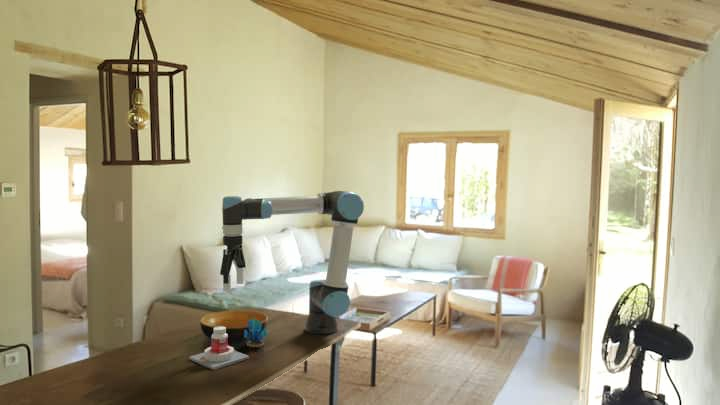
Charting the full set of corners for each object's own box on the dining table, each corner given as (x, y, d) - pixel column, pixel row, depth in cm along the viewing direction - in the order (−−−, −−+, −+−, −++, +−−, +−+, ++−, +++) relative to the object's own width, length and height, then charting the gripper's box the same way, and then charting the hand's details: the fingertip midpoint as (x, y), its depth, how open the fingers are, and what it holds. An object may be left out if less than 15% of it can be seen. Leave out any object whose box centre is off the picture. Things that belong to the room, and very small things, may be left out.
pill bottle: (220, 360, 194) (220, 331, 193) (207, 357, 196) (207, 328, 196) (231, 355, 199) (231, 327, 199) (218, 352, 202) (219, 324, 201)
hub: (224, 348, 209) (224, 340, 209) (249, 358, 199) (249, 349, 198) (189, 359, 197) (189, 350, 196) (213, 370, 186) (213, 360, 186)
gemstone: (262, 348, 211) (262, 319, 210) (242, 346, 212) (242, 318, 211) (268, 342, 218) (269, 314, 217) (249, 341, 219) (249, 313, 219)
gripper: (235, 231, 218) (236, 280, 220) (210, 239, 194) (211, 294, 195) (252, 231, 217) (253, 280, 218) (229, 239, 192) (230, 295, 194)
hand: (233, 287), depth 207 cm, fingers open, 13 cm apart
